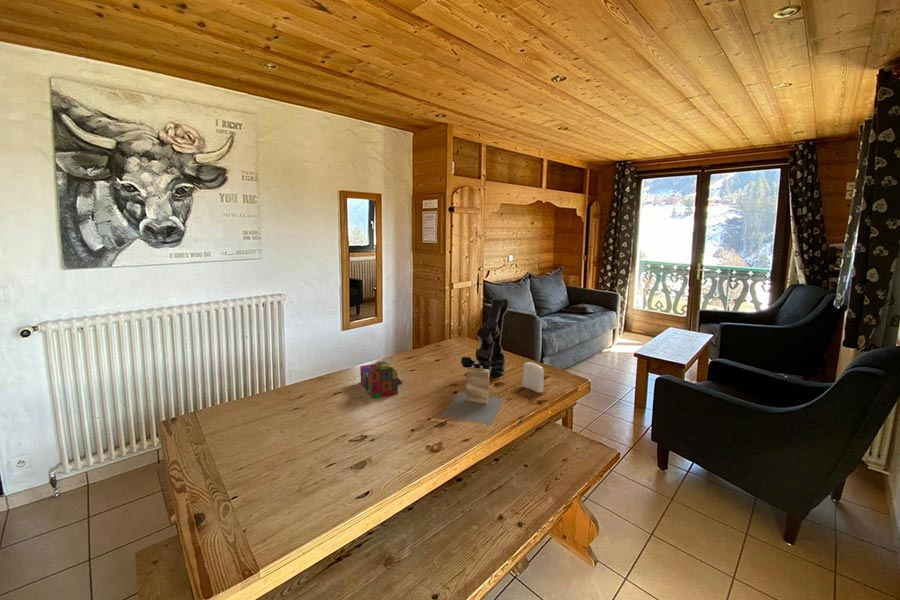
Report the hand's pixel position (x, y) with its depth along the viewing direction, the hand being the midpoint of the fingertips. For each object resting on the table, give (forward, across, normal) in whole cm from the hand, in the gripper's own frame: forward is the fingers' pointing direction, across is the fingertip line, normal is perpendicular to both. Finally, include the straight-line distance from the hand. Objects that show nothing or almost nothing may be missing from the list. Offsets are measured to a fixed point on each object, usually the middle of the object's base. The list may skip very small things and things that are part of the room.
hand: (479, 382), depth 172 cm
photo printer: (-9, +20, +20) cm, 30 cm away
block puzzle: (+5, -46, +7) cm, 47 cm away
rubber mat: (+11, 0, 0) cm, 11 cm away
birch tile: (+7, 0, +4) cm, 8 cm away
